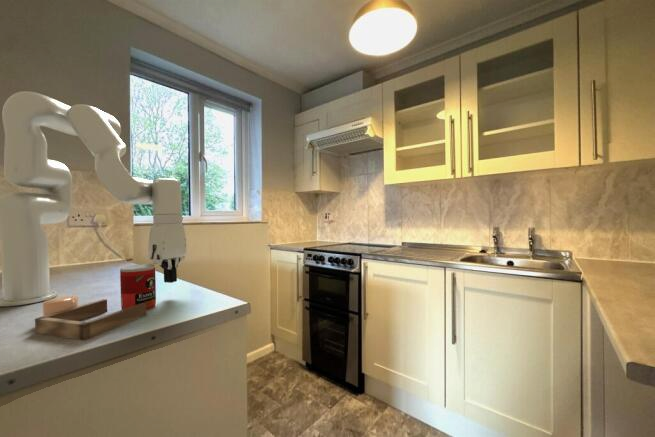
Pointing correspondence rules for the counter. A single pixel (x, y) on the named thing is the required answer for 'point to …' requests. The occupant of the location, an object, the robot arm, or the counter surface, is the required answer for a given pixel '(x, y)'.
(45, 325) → the wooden u-shaped frame
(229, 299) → the counter surface
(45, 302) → the peach egg shape
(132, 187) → the robot arm
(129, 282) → the canned food
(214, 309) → the counter surface
